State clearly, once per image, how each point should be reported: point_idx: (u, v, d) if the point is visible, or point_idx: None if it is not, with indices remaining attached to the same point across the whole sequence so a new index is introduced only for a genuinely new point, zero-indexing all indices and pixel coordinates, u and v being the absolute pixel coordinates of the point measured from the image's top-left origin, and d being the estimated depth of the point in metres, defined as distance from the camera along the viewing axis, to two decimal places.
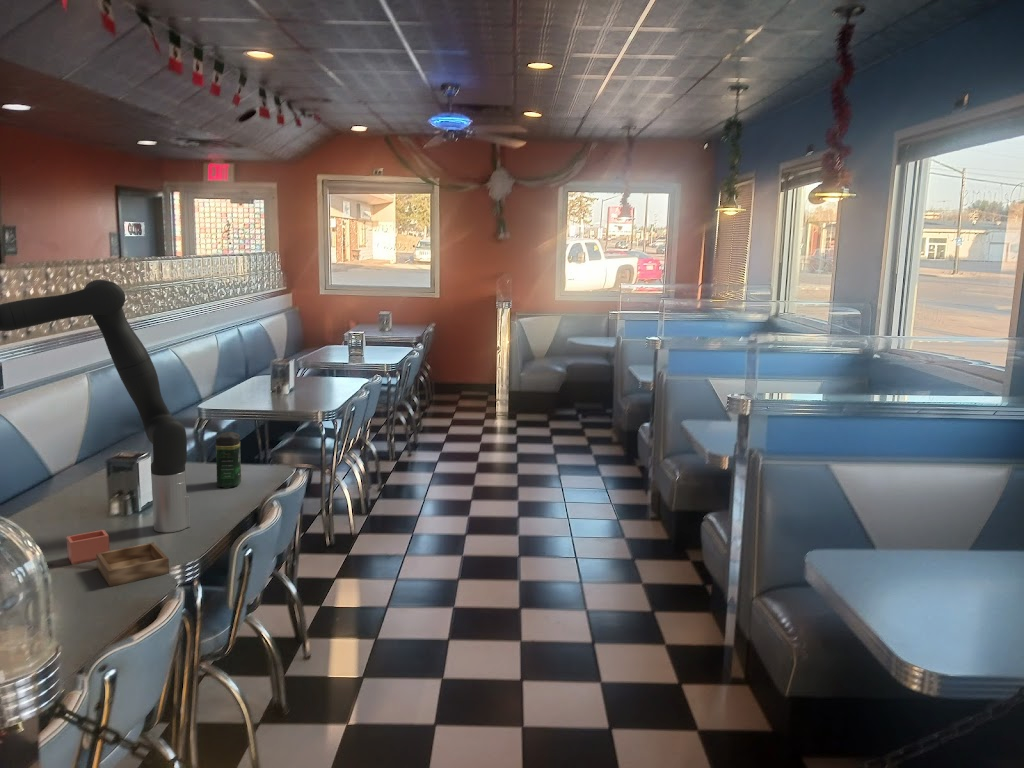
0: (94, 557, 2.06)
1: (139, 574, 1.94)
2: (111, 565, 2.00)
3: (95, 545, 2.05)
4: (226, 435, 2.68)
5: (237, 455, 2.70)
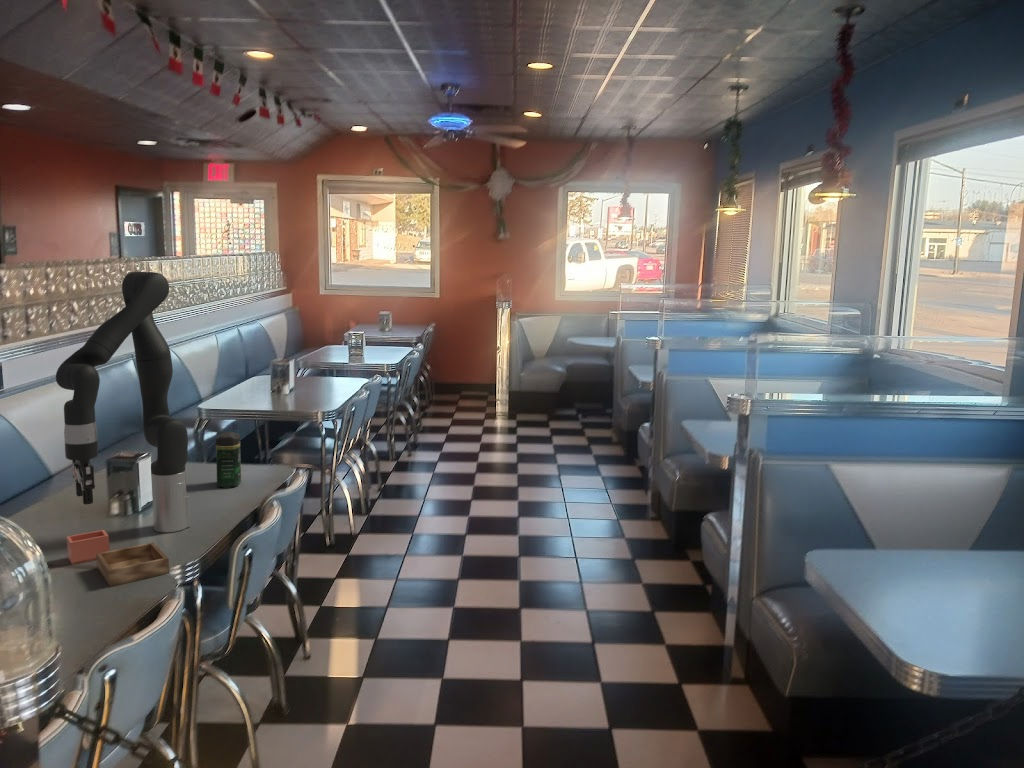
0: (94, 557, 2.06)
1: (139, 574, 1.94)
2: (111, 565, 2.00)
3: (95, 545, 2.05)
4: (226, 435, 2.68)
5: (237, 455, 2.70)
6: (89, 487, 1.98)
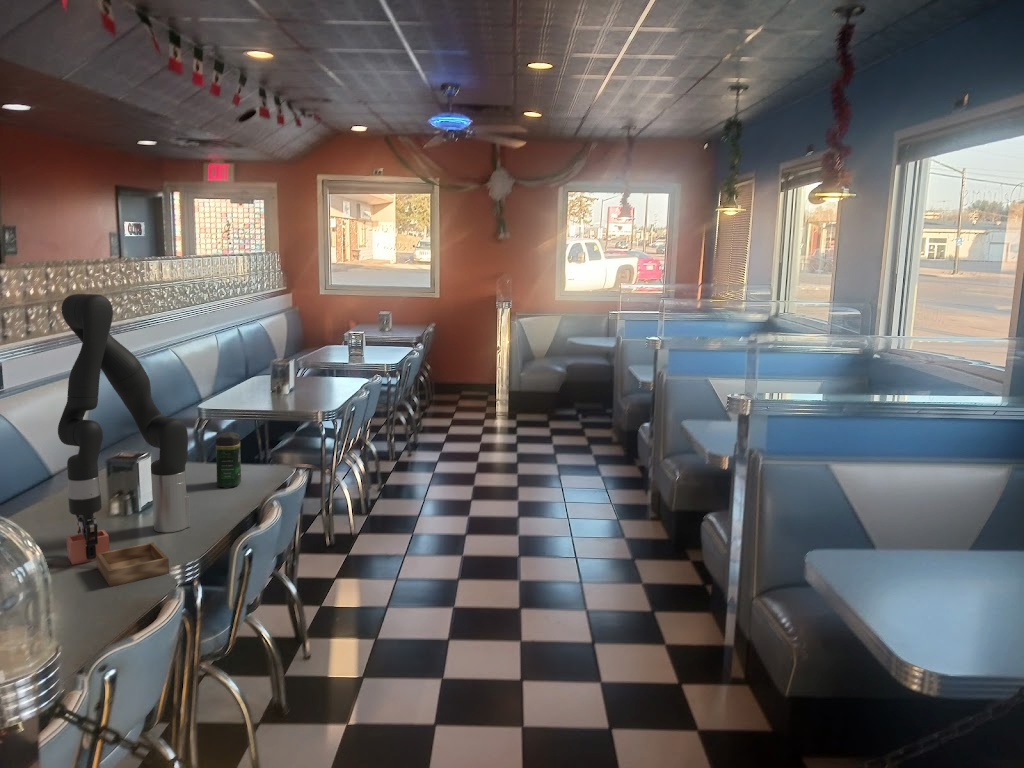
0: None
1: (139, 574, 1.94)
2: (111, 565, 2.00)
3: (95, 545, 2.05)
4: (226, 435, 2.68)
5: (237, 455, 2.70)
6: (92, 543, 2.02)
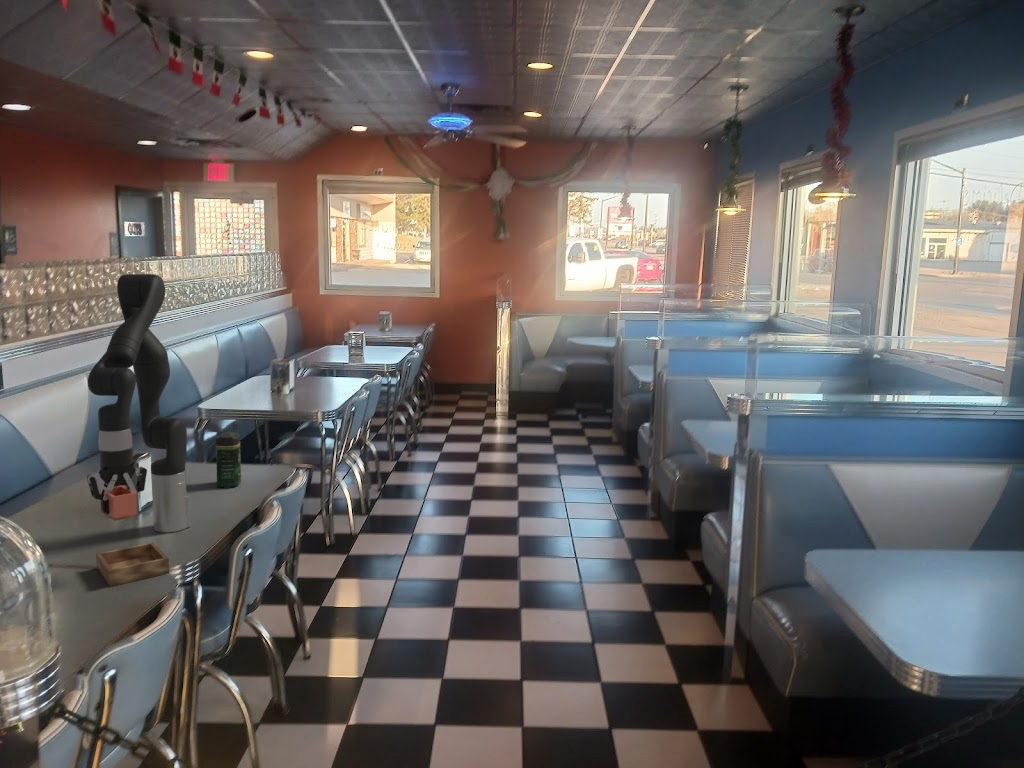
0: (109, 514, 1.95)
1: (139, 574, 1.94)
2: (111, 565, 2.00)
3: None
4: (226, 435, 2.68)
5: (237, 455, 2.70)
6: (93, 496, 1.93)
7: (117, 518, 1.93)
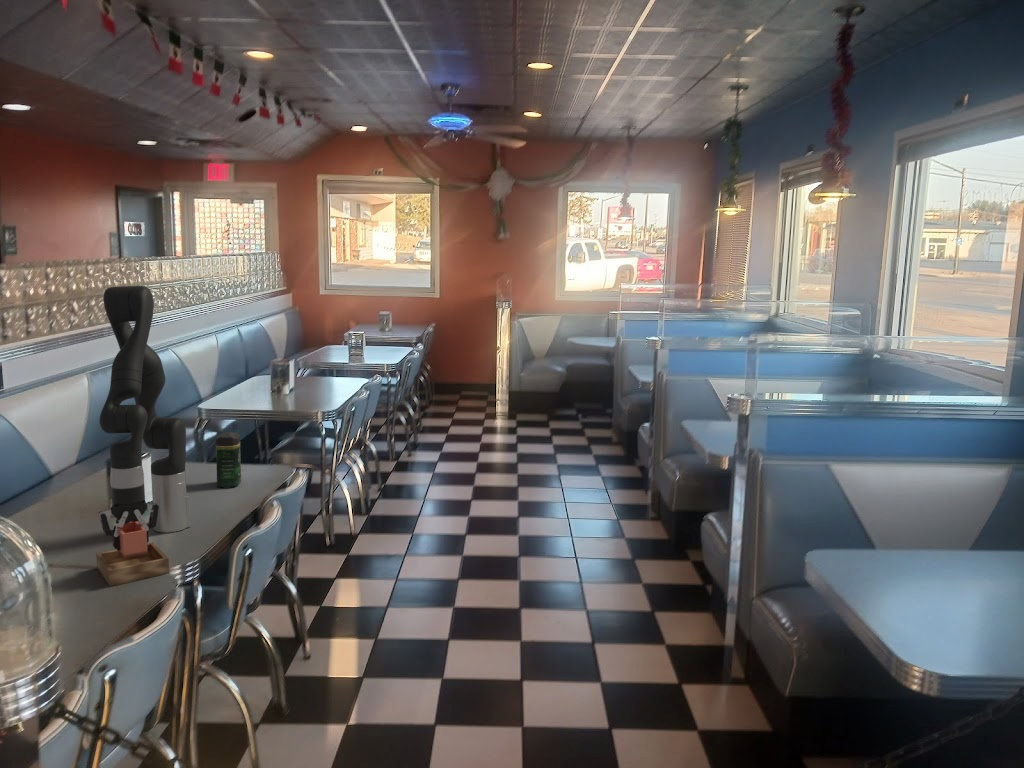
0: (120, 550, 1.96)
1: (139, 574, 1.94)
2: (111, 565, 2.00)
3: None
4: (226, 435, 2.68)
5: (237, 455, 2.70)
6: (104, 532, 1.94)
7: (126, 555, 1.94)
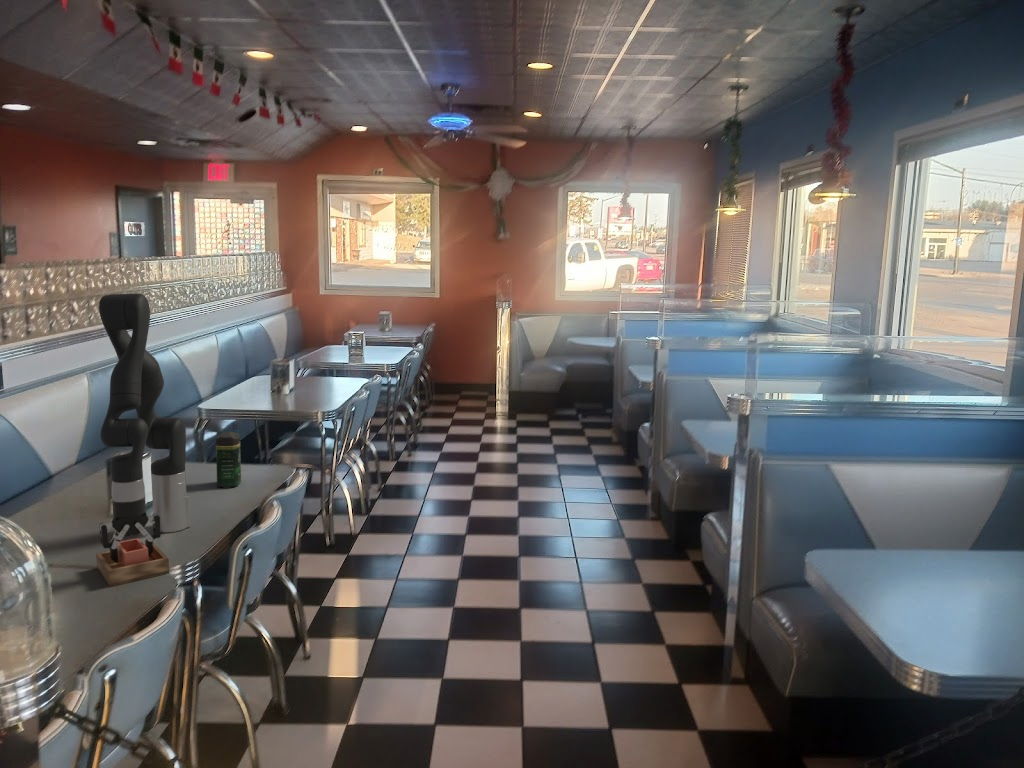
0: None
1: (139, 574, 1.94)
2: (111, 565, 2.00)
3: (121, 557, 1.96)
4: (226, 435, 2.68)
5: (237, 455, 2.70)
6: (102, 544, 1.94)
7: None
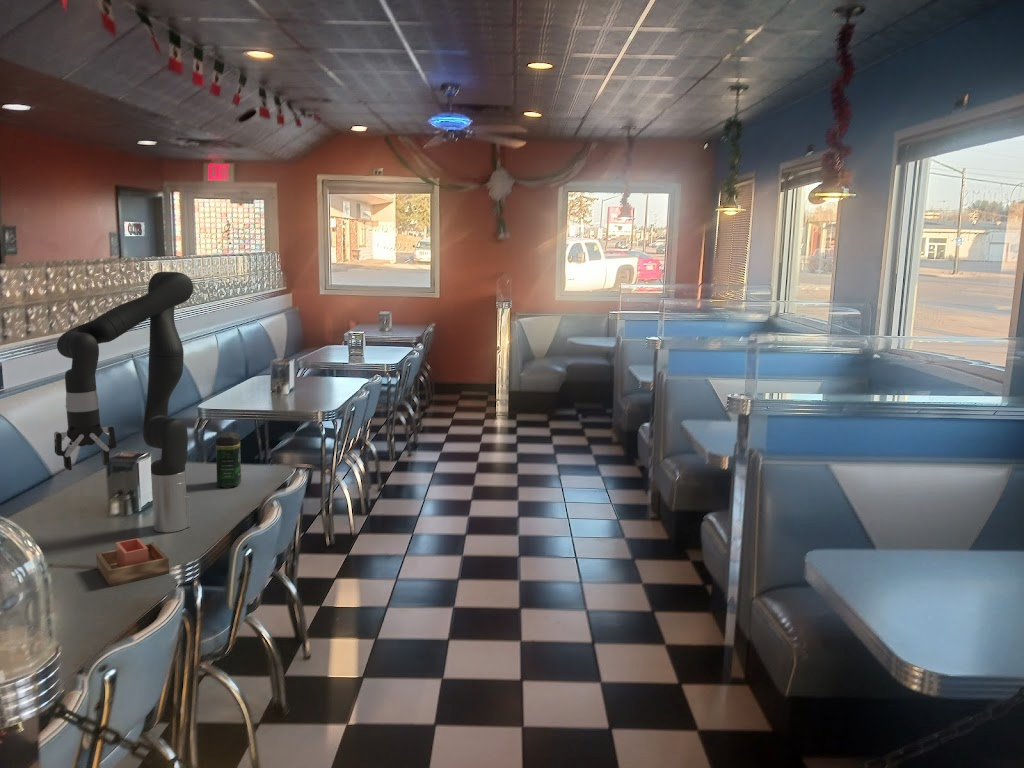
0: None
1: (139, 574, 1.94)
2: (111, 565, 2.00)
3: (121, 557, 1.96)
4: (226, 435, 2.68)
5: (237, 455, 2.70)
6: (55, 452, 2.02)
7: None
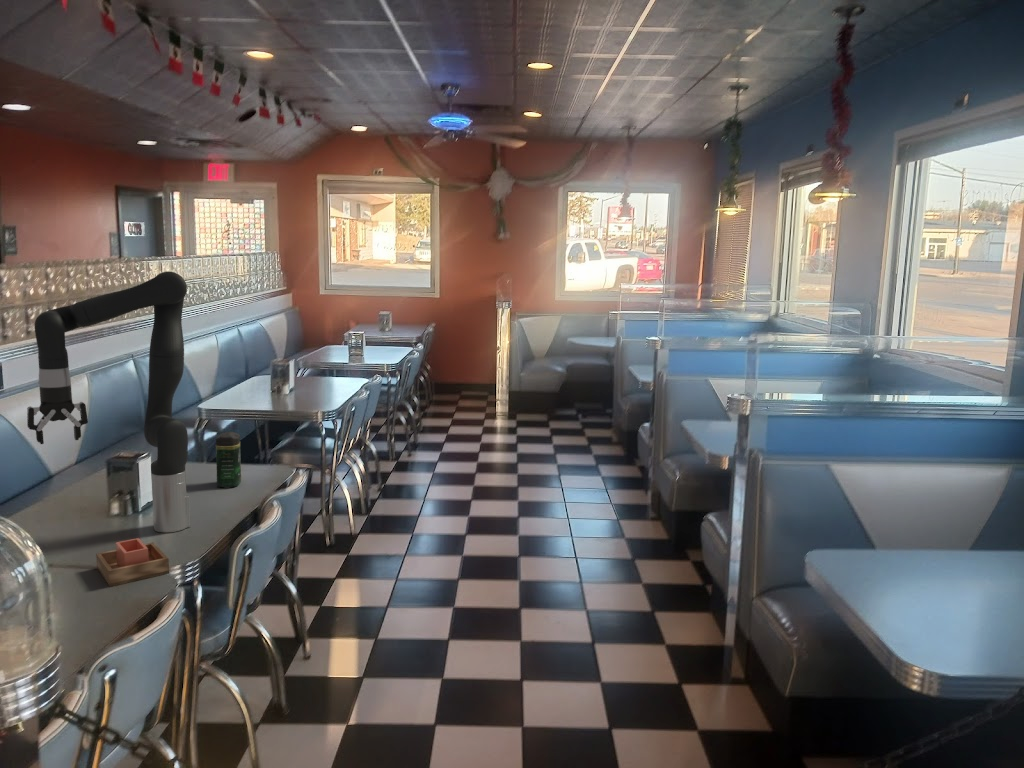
0: None
1: (139, 574, 1.94)
2: (111, 565, 2.00)
3: (121, 557, 1.96)
4: (226, 435, 2.68)
5: (237, 455, 2.70)
6: (28, 426, 2.11)
7: None
